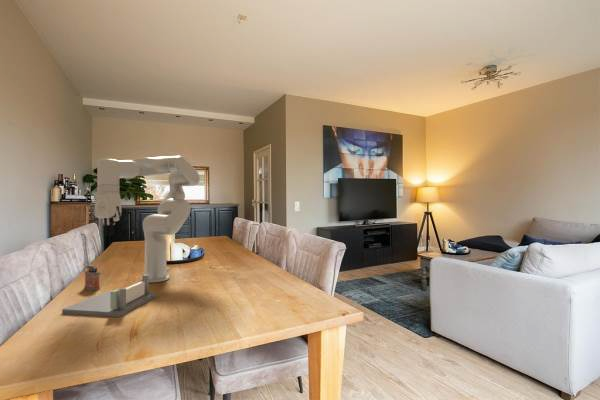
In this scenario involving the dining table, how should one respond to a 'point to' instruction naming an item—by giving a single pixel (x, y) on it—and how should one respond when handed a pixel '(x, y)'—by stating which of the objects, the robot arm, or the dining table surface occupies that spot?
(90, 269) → the lighter
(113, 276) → the dining table surface
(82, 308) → the base
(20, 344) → the dining table surface
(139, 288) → the pale rectangular block
